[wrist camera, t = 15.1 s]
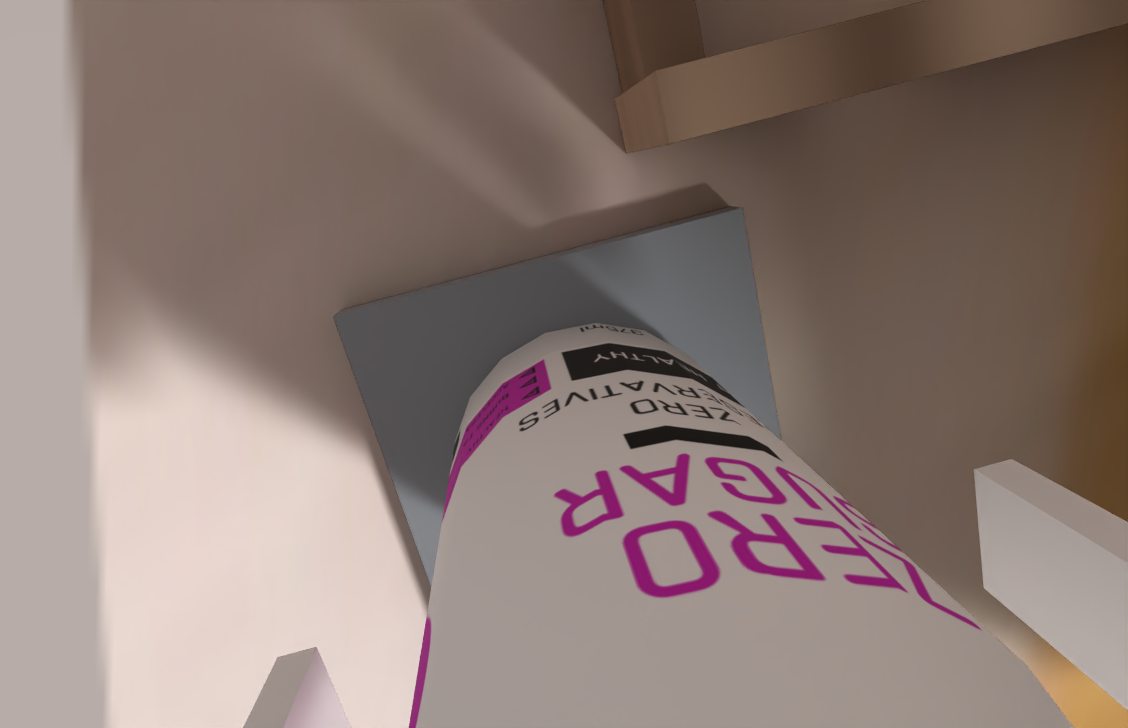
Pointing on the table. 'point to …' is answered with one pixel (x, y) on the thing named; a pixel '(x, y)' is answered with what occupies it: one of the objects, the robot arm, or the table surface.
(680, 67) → the rack
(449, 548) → the supplement can
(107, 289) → the table surface
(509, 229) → the table surface
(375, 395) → the pad
